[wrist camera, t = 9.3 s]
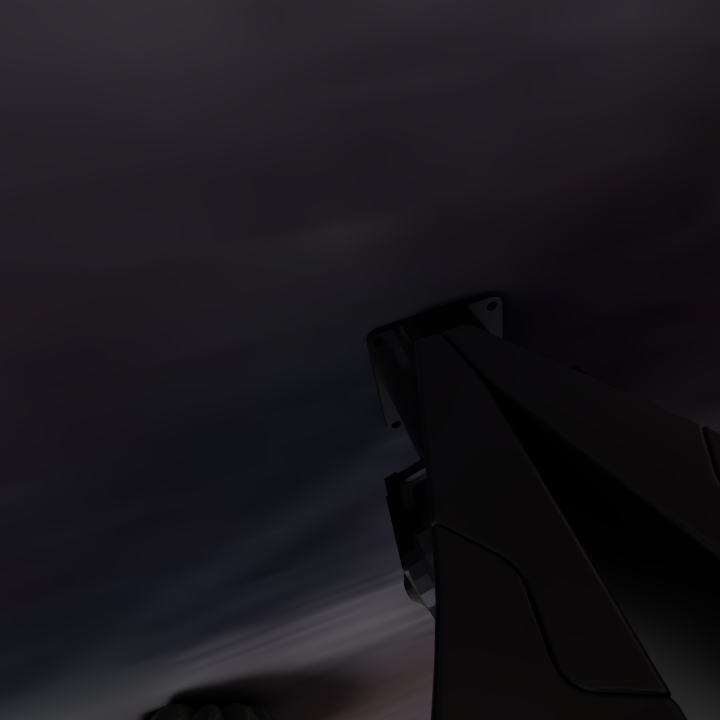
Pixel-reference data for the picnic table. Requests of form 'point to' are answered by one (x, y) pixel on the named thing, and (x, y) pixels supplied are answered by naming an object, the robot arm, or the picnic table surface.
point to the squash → (214, 713)
